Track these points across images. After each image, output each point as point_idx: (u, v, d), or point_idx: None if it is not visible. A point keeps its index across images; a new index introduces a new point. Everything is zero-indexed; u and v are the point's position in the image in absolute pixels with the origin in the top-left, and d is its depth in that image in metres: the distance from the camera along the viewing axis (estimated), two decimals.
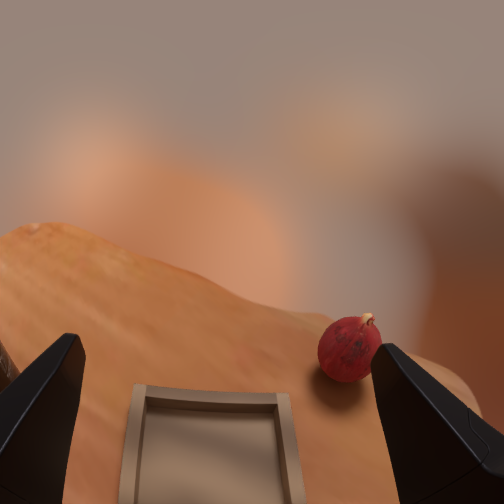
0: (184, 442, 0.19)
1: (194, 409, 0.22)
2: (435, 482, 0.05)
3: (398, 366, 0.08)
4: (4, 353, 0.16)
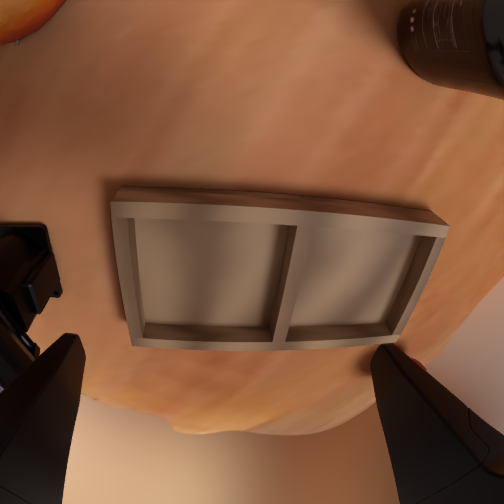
0: (384, 258, 0.23)
1: (411, 268, 0.23)
2: (435, 482, 0.05)
3: (398, 366, 0.08)
4: None
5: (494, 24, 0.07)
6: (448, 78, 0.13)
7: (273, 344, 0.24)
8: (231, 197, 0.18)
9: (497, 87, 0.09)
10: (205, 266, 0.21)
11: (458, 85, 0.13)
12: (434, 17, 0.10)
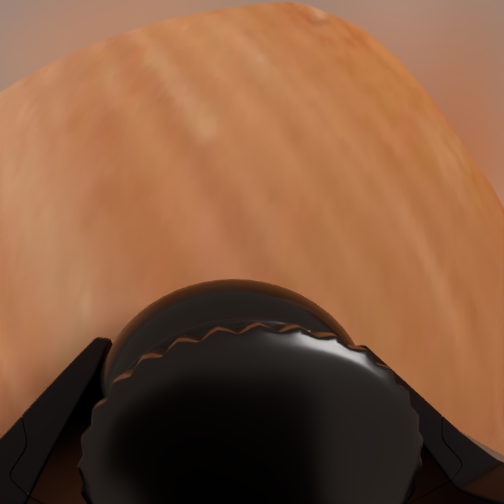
0: None
1: None
2: None
3: None
4: None
5: None
6: None
7: None
8: None
9: None
10: None
11: None
12: None
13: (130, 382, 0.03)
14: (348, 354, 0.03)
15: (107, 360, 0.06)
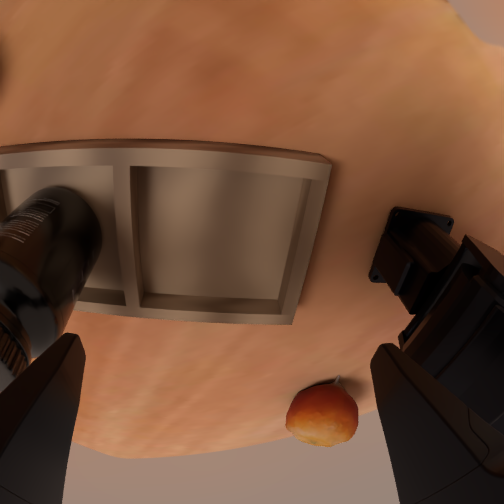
0: None
1: None
2: (435, 482, 0.05)
3: (398, 366, 0.08)
4: (13, 222, 0.12)
5: (50, 343, 0.12)
6: (70, 231, 0.15)
7: (127, 161, 0.15)
8: None
9: (38, 275, 0.11)
10: (218, 246, 0.20)
11: (60, 226, 0.14)
12: (79, 295, 0.16)
13: None
14: None
15: None
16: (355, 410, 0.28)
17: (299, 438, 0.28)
